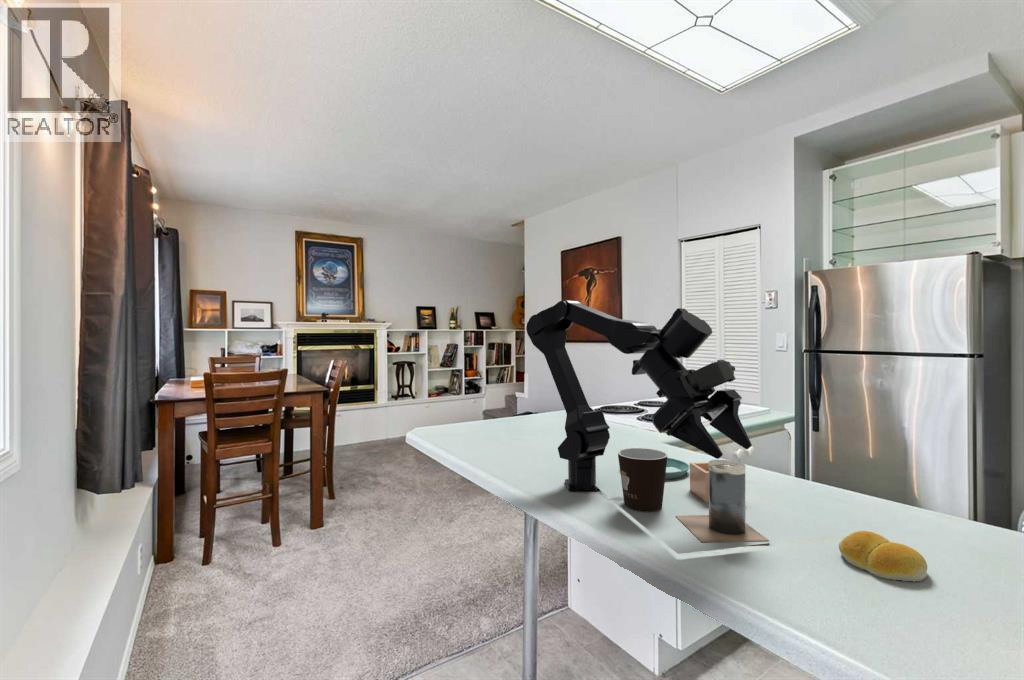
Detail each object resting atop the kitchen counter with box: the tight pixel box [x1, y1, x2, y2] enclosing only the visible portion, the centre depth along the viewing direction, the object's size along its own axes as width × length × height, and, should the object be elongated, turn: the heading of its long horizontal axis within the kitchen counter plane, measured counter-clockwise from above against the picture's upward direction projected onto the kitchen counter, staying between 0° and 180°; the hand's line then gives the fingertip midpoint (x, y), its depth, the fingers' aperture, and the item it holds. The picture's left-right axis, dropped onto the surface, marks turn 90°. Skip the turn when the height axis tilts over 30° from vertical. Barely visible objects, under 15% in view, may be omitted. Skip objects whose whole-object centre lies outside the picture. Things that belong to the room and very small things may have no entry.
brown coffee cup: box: [617, 447, 668, 513], centre depth 84 cm, size 12×9×10 cm
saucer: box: [665, 457, 690, 480], centre depth 104 cm, size 15×15×3 cm
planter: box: [689, 462, 709, 503], centre depth 87 cm, size 7×7×6 cm
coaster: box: [675, 514, 770, 547], centre depth 72 cm, size 10×10×1 cm
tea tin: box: [708, 459, 746, 535], centre depth 72 cm, size 5×5×10 cm
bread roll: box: [838, 530, 928, 583], centre depth 61 cm, size 8×9×4 cm
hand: (735, 452), depth 70 cm, fingers open, 9 cm apart
